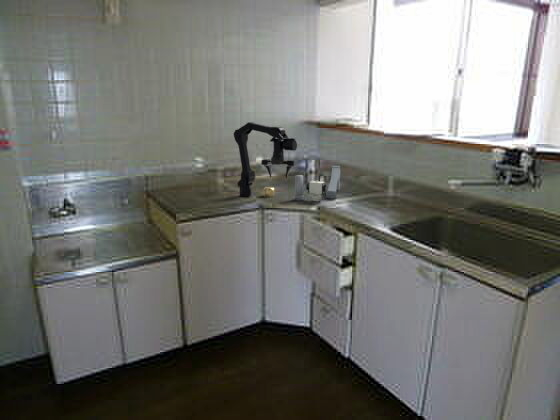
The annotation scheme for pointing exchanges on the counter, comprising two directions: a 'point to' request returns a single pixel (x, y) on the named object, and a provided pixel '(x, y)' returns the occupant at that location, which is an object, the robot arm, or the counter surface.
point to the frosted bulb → (299, 187)
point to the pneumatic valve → (317, 189)
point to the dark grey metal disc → (299, 199)
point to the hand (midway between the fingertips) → (278, 177)
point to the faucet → (334, 182)
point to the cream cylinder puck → (269, 192)
